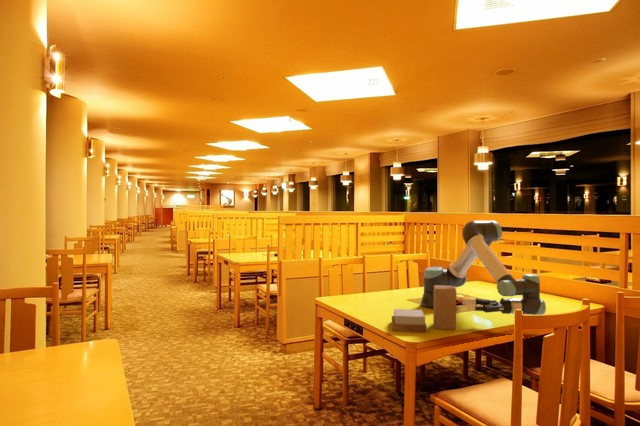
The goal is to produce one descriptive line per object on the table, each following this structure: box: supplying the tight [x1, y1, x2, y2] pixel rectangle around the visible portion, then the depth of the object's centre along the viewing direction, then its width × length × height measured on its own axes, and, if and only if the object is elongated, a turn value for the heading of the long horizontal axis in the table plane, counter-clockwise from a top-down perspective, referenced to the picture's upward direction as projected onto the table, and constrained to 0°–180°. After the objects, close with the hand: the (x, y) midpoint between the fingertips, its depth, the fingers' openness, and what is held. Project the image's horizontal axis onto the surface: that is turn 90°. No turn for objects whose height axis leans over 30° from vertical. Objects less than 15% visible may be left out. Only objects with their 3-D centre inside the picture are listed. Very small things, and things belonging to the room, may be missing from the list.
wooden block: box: [433, 285, 457, 331], centre depth 204 cm, size 10×10×20 cm
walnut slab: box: [391, 315, 427, 334], centre depth 202 cm, size 16×16×4 cm
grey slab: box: [393, 308, 426, 325], centre depth 202 cm, size 14×14×4 cm
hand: (464, 304), depth 202 cm, fingers open, 13 cm apart
